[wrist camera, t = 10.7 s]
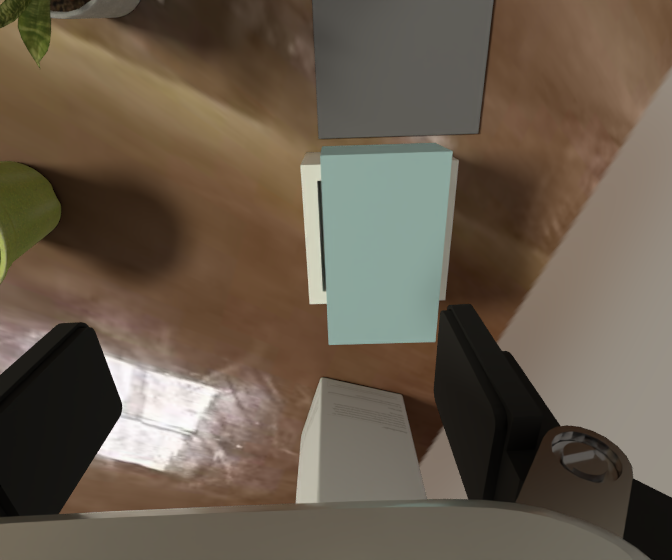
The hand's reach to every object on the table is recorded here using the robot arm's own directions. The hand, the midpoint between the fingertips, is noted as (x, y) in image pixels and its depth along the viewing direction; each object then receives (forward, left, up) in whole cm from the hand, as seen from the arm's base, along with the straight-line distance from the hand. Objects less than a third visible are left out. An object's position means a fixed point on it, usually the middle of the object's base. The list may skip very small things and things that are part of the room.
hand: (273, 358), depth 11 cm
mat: (-11, +7, -23) cm, 26 cm away
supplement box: (+25, +3, -23) cm, 34 cm away
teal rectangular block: (+2, +5, -17) cm, 18 cm away
